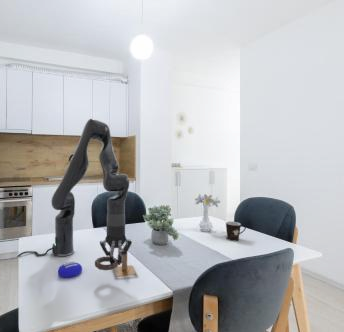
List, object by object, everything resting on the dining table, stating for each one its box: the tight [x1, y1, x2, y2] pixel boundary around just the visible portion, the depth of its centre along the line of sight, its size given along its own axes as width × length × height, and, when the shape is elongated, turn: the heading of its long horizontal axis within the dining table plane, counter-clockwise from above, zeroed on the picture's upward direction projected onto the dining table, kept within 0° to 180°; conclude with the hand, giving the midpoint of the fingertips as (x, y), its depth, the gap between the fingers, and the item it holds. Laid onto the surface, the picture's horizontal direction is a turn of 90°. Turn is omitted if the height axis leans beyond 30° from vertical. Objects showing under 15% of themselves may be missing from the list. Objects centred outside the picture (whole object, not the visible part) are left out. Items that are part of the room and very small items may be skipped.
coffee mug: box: [225, 220, 246, 242], centre depth 152 cm, size 12×9×10 cm
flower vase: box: [194, 193, 221, 232], centre depth 170 cm, size 13×18×25 cm
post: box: [113, 247, 138, 278], centre depth 109 cm, size 9×9×11 cm
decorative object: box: [57, 260, 83, 279], centre depth 107 cm, size 10×6×10 cm
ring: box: [94, 255, 120, 271], centre depth 99 cm, size 10×10×2 cm
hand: (115, 264), depth 100 cm, fingers closed on ring, 2 cm apart
